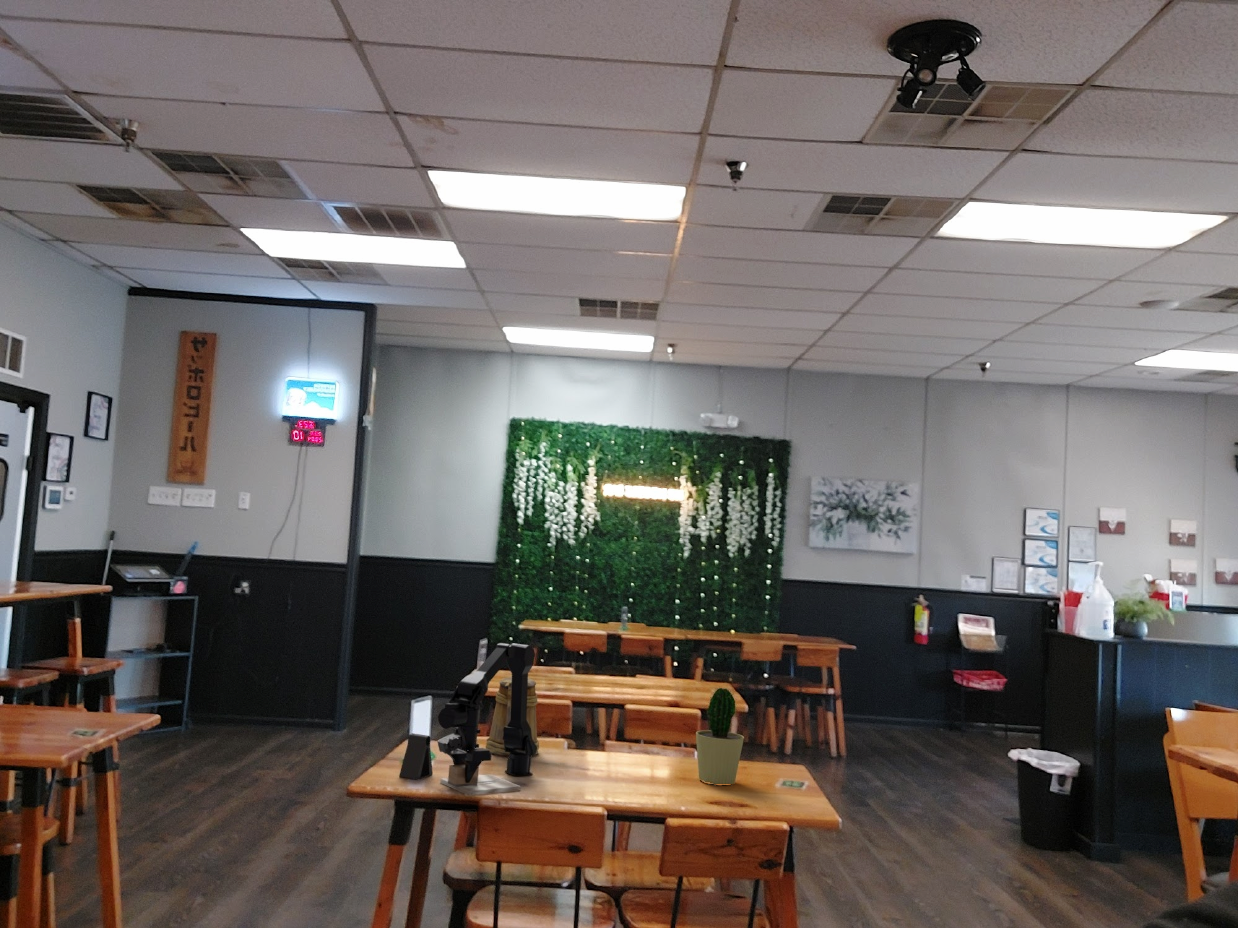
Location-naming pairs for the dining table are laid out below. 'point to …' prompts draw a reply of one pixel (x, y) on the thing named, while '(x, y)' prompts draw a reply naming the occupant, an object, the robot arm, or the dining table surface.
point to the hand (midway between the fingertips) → (462, 780)
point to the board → (485, 785)
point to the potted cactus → (719, 742)
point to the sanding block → (460, 776)
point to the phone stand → (417, 758)
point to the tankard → (503, 716)
